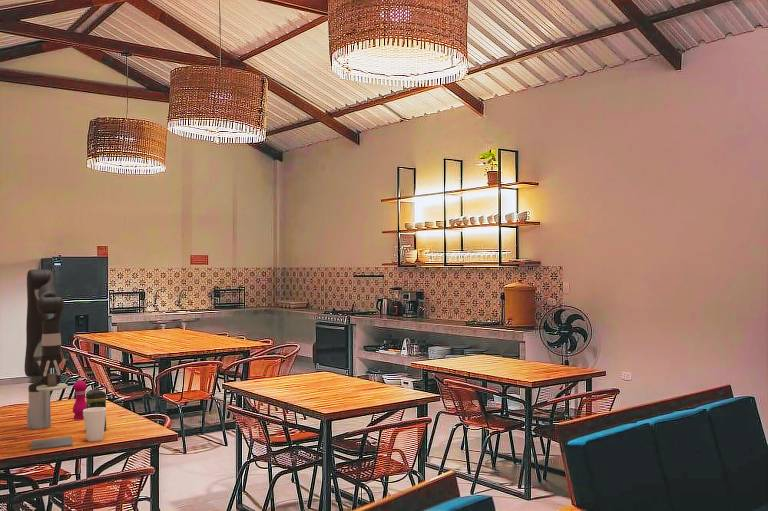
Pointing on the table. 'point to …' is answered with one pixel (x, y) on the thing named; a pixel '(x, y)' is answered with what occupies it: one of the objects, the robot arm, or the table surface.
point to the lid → (51, 384)
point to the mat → (51, 443)
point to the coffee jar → (96, 400)
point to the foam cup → (94, 423)
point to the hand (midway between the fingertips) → (52, 384)
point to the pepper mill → (79, 399)
